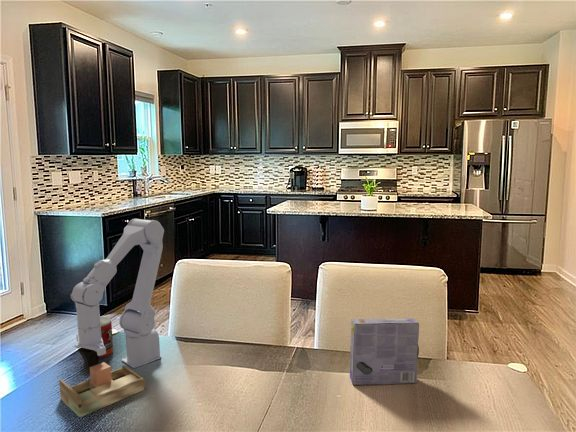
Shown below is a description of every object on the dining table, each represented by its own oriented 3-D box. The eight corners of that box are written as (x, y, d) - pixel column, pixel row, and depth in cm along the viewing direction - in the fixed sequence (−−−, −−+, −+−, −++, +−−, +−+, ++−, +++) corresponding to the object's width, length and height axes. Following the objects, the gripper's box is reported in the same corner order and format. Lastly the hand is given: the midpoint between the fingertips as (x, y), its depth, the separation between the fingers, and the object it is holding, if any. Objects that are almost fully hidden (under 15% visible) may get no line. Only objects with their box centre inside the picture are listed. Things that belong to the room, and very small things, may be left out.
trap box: (124, 374, 127) (123, 356, 127) (145, 389, 119) (144, 370, 119) (60, 399, 115) (59, 379, 114) (79, 417, 107) (77, 396, 106)
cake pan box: (414, 374, 126) (416, 315, 123) (421, 383, 121) (423, 322, 118) (348, 377, 125) (349, 318, 122) (352, 386, 120) (353, 324, 117)
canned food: (104, 359, 137) (101, 326, 135) (81, 357, 138) (79, 324, 137) (118, 349, 144) (116, 317, 143) (96, 347, 146) (94, 315, 144)
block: (105, 375, 122) (104, 362, 121) (111, 380, 119) (110, 366, 119) (90, 381, 119) (89, 367, 119) (97, 386, 116) (96, 372, 116)
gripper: (63, 322, 123) (67, 368, 125) (85, 337, 113) (89, 386, 115) (89, 316, 128) (92, 360, 130) (112, 329, 118) (115, 376, 120)
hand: (92, 371), depth 123 cm, fingers closed
